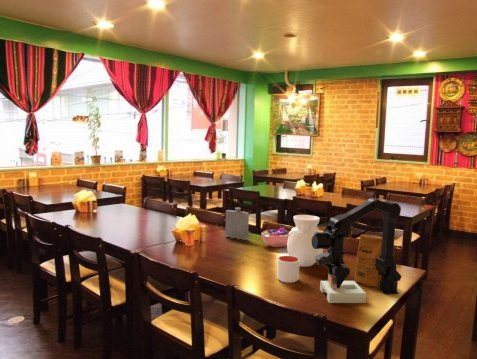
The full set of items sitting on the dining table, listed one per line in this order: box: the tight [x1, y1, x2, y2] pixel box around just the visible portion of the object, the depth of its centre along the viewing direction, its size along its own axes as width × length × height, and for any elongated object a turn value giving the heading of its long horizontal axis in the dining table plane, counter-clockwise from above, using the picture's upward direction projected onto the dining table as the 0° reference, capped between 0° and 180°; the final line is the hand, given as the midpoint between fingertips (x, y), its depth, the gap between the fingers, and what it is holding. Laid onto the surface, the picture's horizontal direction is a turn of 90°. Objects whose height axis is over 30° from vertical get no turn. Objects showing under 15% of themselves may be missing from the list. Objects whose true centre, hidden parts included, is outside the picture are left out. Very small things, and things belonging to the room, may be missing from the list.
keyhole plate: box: [319, 280, 367, 304], centre depth 171 cm, size 15×14×4 cm
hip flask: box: [225, 206, 250, 241], centre depth 258 cm, size 16×4×20 cm, turn 62°
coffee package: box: [353, 234, 382, 288], centre depth 187 cm, size 10×12×22 cm
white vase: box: [286, 214, 324, 268], centre depth 211 cm, size 19×18×25 cm
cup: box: [276, 255, 300, 284], centre depth 188 cm, size 10×10×10 cm
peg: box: [327, 273, 341, 288], centre depth 170 cm, size 4×4×9 cm
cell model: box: [260, 226, 291, 248], centre depth 244 cm, size 17×20×11 cm
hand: (334, 283), depth 170 cm, fingers open, 9 cm apart
